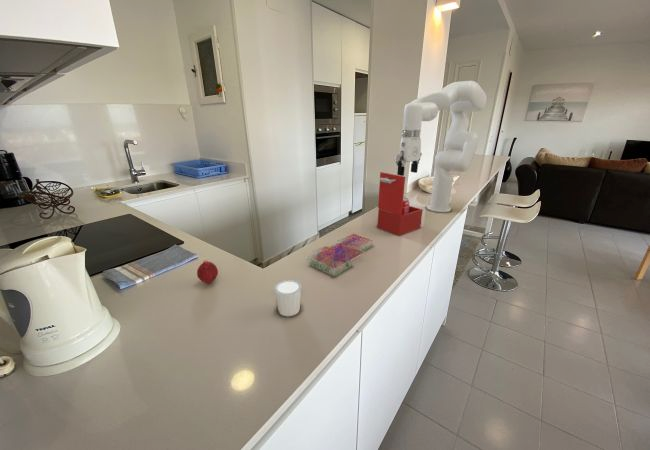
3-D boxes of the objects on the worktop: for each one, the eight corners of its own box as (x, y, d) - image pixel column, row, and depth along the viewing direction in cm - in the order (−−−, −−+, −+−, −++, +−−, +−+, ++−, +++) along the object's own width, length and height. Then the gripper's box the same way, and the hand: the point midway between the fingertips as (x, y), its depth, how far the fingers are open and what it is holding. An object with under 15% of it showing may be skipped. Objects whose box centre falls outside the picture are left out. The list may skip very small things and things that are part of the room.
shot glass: (291, 321, 69) (290, 298, 67) (270, 311, 73) (268, 289, 70) (307, 306, 75) (306, 284, 72) (287, 298, 78) (286, 276, 75)
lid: (381, 172, 120) (373, 173, 117) (405, 176, 111) (397, 178, 108) (379, 208, 126) (371, 210, 123) (401, 215, 117) (393, 218, 114)
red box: (398, 220, 138) (400, 203, 135) (420, 227, 129) (422, 209, 125) (377, 227, 129) (378, 209, 126) (398, 235, 120) (401, 216, 117)
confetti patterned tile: (351, 237, 118) (352, 226, 116) (382, 248, 108) (383, 236, 106) (299, 262, 97) (299, 249, 95) (331, 278, 88) (331, 264, 86)
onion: (223, 279, 87) (219, 257, 84) (210, 289, 82) (206, 265, 79) (208, 276, 89) (204, 254, 86) (194, 285, 84) (190, 262, 81)
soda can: (405, 223, 132) (408, 196, 127) (408, 228, 125) (411, 201, 120) (390, 222, 132) (392, 196, 128) (392, 228, 126) (394, 200, 121)
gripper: (405, 136, 111) (402, 177, 118) (430, 133, 121) (425, 172, 128) (391, 135, 117) (388, 175, 123) (415, 132, 127) (411, 170, 133)
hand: (407, 173), depth 126 cm, fingers open, 9 cm apart
